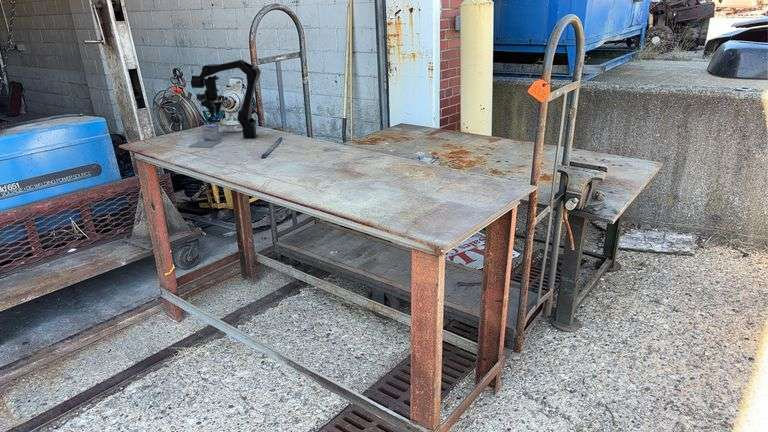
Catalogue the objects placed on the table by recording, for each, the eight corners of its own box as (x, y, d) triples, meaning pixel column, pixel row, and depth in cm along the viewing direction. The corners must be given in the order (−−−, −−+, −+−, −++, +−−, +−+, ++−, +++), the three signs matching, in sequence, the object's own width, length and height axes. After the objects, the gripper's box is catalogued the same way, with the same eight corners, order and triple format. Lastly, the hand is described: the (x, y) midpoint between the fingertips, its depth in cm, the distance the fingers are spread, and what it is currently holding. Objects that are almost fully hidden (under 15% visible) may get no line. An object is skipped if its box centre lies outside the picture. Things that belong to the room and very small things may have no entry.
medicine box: (203, 141, 305) (201, 125, 302) (208, 139, 309) (205, 124, 306) (216, 141, 303) (214, 126, 300) (220, 139, 307) (218, 124, 304)
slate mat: (220, 141, 303) (220, 141, 302) (211, 147, 292) (210, 147, 292) (199, 141, 305) (198, 140, 305) (188, 147, 294) (188, 146, 294)
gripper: (205, 85, 312) (209, 112, 318) (189, 90, 295) (194, 119, 301) (223, 85, 311) (227, 112, 317) (208, 91, 294) (213, 119, 300)
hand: (215, 116), depth 309 cm, fingers open, 6 cm apart
